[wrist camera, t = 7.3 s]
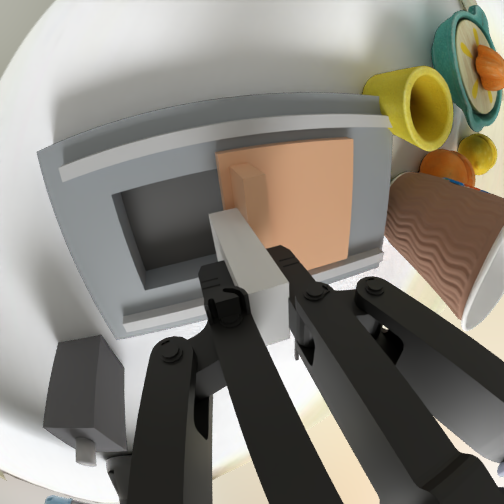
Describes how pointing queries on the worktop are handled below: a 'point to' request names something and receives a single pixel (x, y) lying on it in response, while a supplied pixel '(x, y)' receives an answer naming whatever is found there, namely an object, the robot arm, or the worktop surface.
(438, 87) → the toy juicer set
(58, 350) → the plug
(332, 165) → the shutter
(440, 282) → the coffee cup
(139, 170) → the socket board
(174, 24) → the worktop surface
